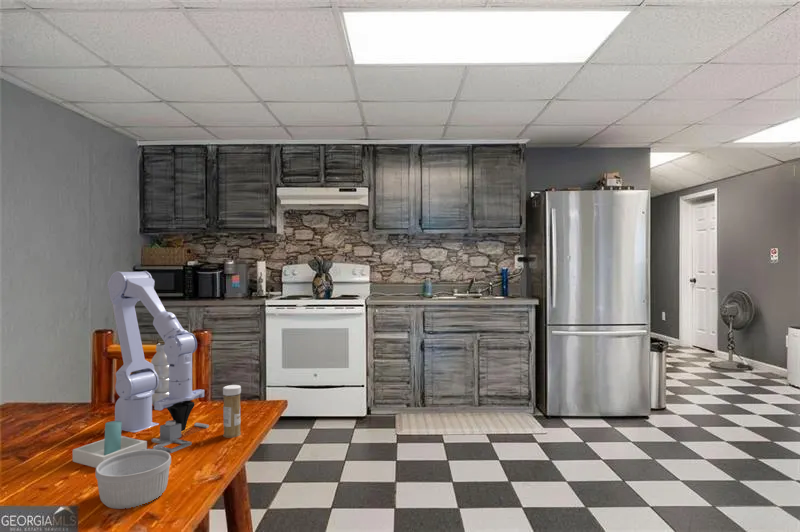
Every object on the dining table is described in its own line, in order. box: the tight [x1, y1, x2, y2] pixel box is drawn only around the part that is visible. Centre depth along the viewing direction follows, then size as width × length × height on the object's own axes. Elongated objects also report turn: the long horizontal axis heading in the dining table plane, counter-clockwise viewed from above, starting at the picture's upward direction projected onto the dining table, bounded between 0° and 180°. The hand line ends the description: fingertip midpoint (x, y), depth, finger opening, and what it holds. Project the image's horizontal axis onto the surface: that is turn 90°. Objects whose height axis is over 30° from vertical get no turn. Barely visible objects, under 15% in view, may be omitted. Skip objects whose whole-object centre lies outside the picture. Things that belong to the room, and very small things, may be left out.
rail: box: [151, 422, 210, 444], centre depth 132 cm, size 5×15×1 cm, turn 155°
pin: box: [104, 420, 122, 455], centre depth 118 cm, size 3×3×8 cm
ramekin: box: [94, 448, 172, 510], centre depth 98 cm, size 13×13×7 cm
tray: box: [72, 435, 148, 469], centre depth 118 cm, size 11×11×3 cm
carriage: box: [159, 419, 182, 441], centre depth 129 cm, size 4×4×4 cm
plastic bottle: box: [150, 343, 169, 407], centre depth 160 cm, size 6×7×20 cm
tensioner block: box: [142, 438, 193, 454], centre depth 120 cm, size 6×14×2 cm, turn 155°
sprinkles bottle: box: [222, 384, 242, 439], centre depth 132 cm, size 5×5×14 cm
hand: (180, 430), depth 132 cm, fingers closed
